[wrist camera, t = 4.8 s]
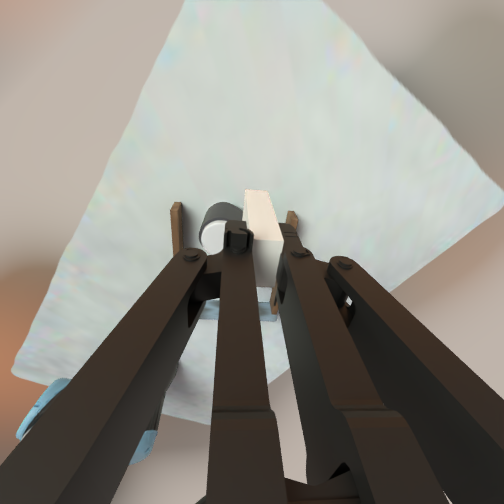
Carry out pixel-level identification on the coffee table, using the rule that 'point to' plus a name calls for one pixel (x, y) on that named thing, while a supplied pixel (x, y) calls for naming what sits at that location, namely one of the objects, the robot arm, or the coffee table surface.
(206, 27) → the coffee table surface
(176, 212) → the bay
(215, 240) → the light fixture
